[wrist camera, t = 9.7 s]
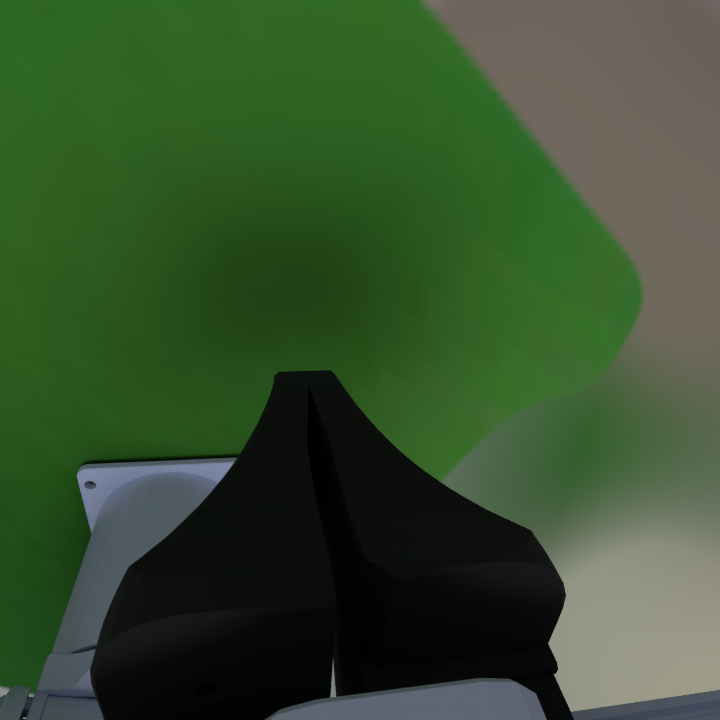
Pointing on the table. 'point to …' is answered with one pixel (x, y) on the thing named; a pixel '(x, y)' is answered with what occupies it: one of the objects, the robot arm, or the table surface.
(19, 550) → the table surface
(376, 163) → the table surface
